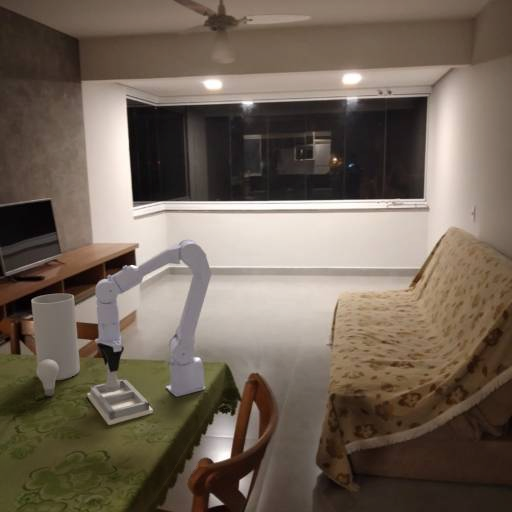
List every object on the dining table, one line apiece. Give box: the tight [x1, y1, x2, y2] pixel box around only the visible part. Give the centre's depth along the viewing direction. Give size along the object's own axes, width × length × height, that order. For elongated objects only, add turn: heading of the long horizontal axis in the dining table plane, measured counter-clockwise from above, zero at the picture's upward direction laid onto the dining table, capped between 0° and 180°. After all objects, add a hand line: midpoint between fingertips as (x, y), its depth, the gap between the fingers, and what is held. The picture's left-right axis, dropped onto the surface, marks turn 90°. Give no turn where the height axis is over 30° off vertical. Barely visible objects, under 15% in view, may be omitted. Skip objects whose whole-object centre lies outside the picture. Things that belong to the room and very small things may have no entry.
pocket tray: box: [87, 378, 154, 426], centre depth 147 cm, size 12×21×3 cm, turn 32°
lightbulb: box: [36, 359, 59, 397], centre depth 153 cm, size 6×6×11 cm
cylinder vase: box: [31, 293, 81, 382], centre depth 168 cm, size 12×12×25 cm
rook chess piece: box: [104, 362, 120, 392], centre depth 150 cm, size 4×4×8 cm
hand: (111, 368), depth 150 cm, fingers closed on rook chess piece, 3 cm apart
